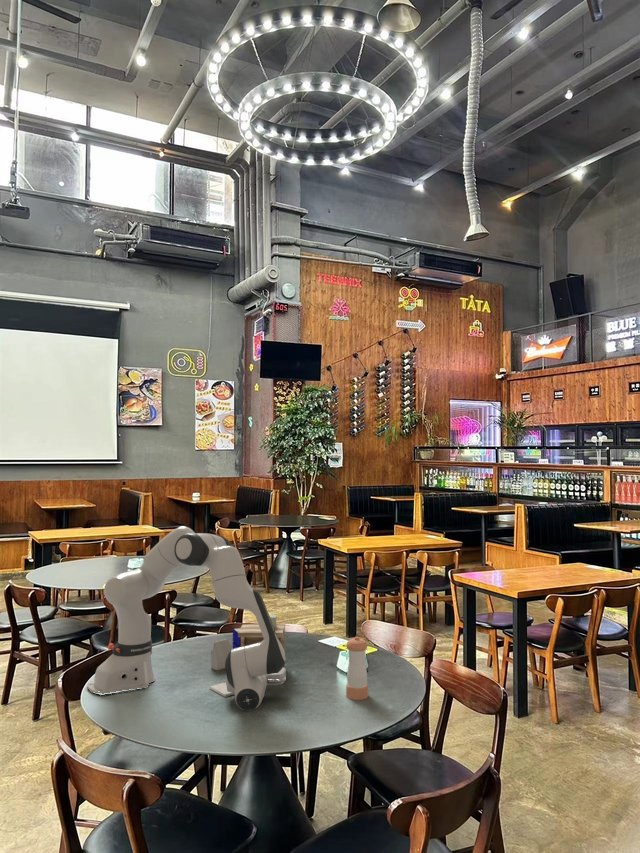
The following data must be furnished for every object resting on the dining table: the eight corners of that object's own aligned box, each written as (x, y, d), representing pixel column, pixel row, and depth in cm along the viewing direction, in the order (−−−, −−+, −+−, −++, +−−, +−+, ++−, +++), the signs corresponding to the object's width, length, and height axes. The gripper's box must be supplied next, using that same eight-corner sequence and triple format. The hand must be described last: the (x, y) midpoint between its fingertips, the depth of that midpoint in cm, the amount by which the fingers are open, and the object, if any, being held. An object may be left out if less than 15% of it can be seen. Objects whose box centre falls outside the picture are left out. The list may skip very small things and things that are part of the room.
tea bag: (231, 666, 235) (231, 639, 235) (217, 670, 229) (217, 643, 230) (224, 664, 237) (225, 637, 238) (211, 668, 232) (211, 641, 233)
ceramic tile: (224, 697, 203) (224, 694, 203) (209, 688, 210) (209, 686, 210) (250, 690, 209) (250, 687, 209) (234, 682, 217) (234, 679, 217)
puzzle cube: (232, 653, 250) (232, 628, 251) (255, 650, 255) (255, 626, 255) (239, 660, 241) (239, 634, 242) (263, 657, 246) (264, 631, 246)
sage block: (275, 628, 226) (275, 617, 226) (264, 628, 226) (264, 617, 226) (276, 625, 230) (276, 614, 230) (265, 625, 230) (265, 614, 230)
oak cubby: (282, 680, 219) (282, 632, 220) (237, 680, 219) (238, 632, 220) (284, 669, 231) (284, 624, 232) (242, 669, 231) (242, 624, 232)
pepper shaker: (350, 701, 199) (349, 640, 200) (343, 693, 206) (343, 634, 207) (371, 698, 201) (370, 638, 202) (363, 691, 208) (363, 633, 209)
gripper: (285, 671, 199) (287, 658, 212) (222, 671, 199) (228, 658, 212) (285, 691, 198) (287, 677, 212) (222, 691, 198) (228, 677, 212)
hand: (257, 667), depth 212 cm, fingers open, 8 cm apart
